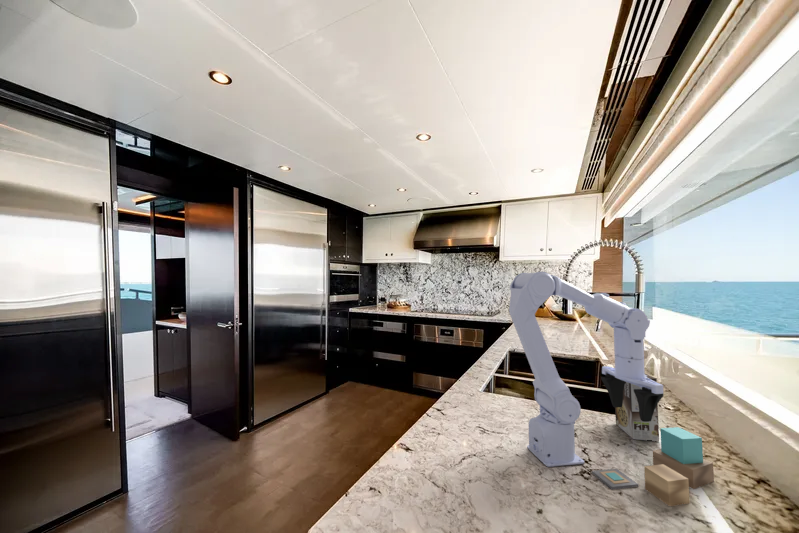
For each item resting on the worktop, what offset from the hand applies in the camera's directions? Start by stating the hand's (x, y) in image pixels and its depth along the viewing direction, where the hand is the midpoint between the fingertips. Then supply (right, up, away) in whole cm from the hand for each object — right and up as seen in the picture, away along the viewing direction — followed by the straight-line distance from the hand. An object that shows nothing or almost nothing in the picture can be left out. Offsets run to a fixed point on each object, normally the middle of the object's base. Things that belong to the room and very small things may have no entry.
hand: (630, 413), depth 71 cm
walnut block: (+5, -9, -8) cm, 13 cm away
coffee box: (+9, -10, +10) cm, 17 cm away
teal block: (+5, -5, -8) cm, 11 cm away
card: (-11, -9, -10) cm, 17 cm away
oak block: (-4, -9, -14) cm, 17 cm away
